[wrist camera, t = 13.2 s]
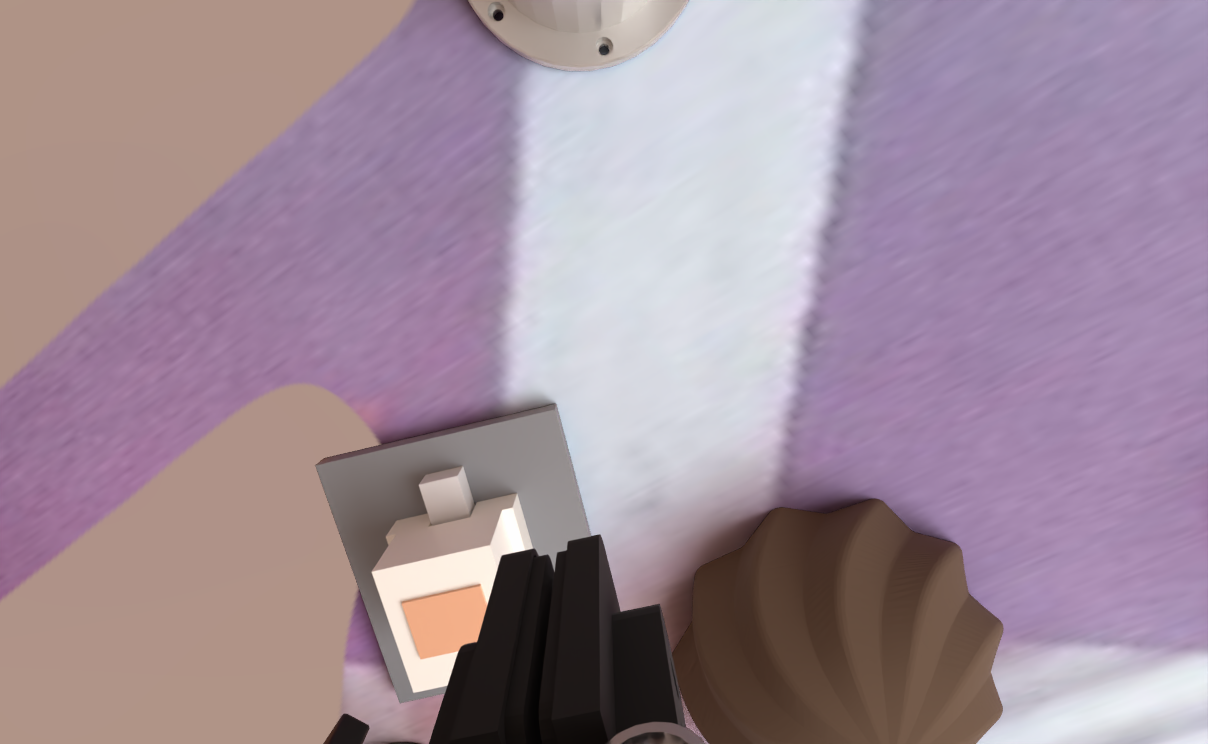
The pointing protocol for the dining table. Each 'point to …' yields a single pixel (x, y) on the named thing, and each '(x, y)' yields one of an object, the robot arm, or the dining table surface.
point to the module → (444, 583)
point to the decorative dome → (838, 636)
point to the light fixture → (349, 731)
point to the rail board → (491, 476)
